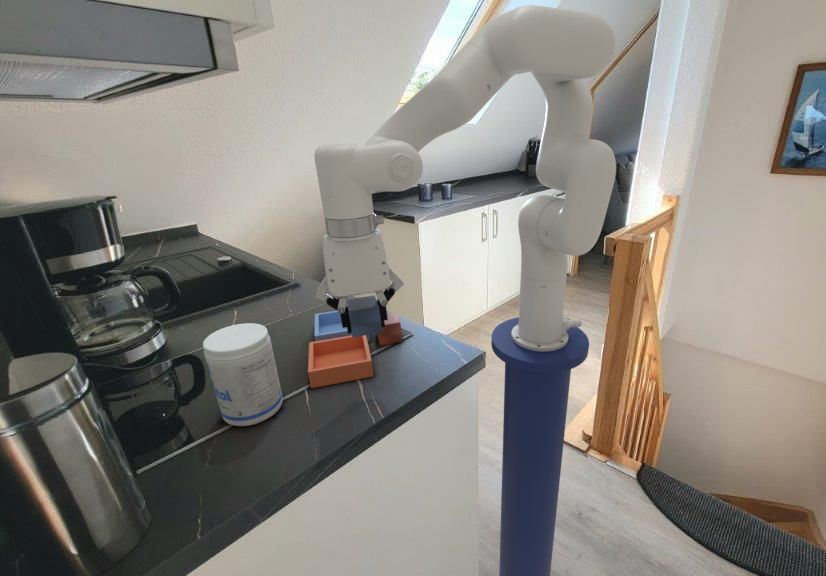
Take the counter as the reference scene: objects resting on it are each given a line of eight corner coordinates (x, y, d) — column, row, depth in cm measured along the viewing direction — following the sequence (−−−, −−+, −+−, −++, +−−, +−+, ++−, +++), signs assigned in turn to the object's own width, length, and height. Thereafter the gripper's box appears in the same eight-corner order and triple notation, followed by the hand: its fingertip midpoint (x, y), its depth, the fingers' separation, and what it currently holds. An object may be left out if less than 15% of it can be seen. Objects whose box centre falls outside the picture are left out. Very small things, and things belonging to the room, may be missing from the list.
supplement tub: (211, 418, 68) (186, 342, 63) (259, 387, 76) (241, 317, 71) (249, 436, 64) (226, 357, 59) (296, 401, 72) (280, 329, 66)
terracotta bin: (367, 347, 89) (365, 333, 88) (373, 376, 79) (371, 360, 78) (311, 357, 86) (309, 342, 85) (310, 388, 76) (307, 372, 74)
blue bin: (365, 319, 102) (363, 306, 100) (370, 341, 92) (369, 327, 90) (317, 327, 98) (314, 313, 97) (316, 350, 88) (314, 336, 87)
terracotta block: (398, 331, 96) (396, 312, 94) (402, 342, 91) (400, 322, 89) (377, 335, 94) (374, 316, 92) (379, 345, 90) (377, 325, 88)
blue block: (378, 319, 74) (375, 295, 72) (382, 332, 70) (378, 306, 68) (350, 324, 73) (346, 299, 71) (352, 337, 68) (348, 311, 66)
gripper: (399, 215, 70) (409, 310, 77) (294, 226, 65) (315, 326, 72) (408, 225, 63) (417, 327, 70) (292, 238, 58) (315, 347, 66)
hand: (365, 326), depth 71 cm, fingers closed on blue block, 5 cm apart
